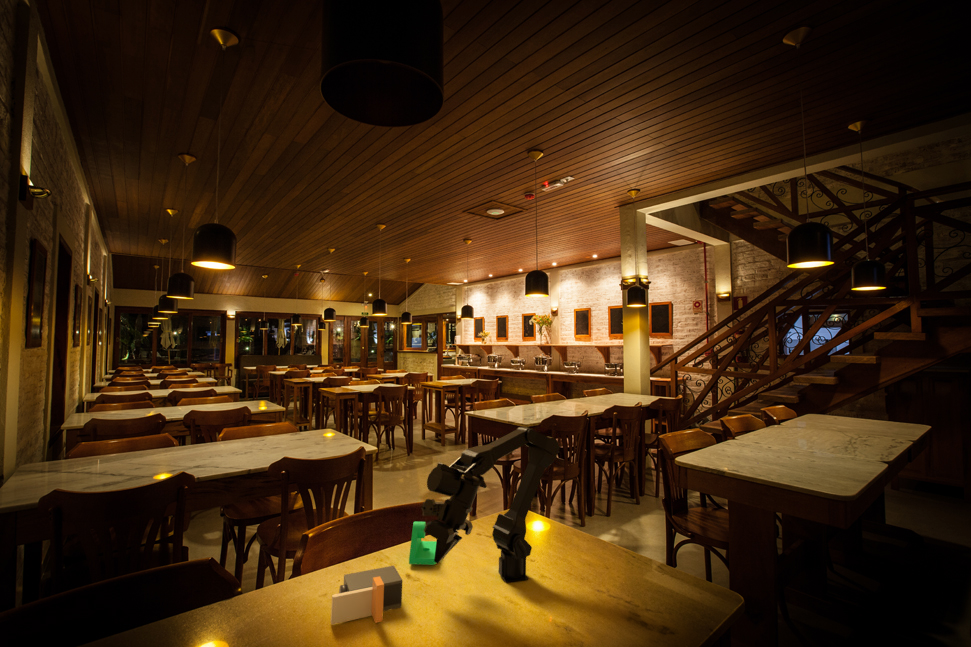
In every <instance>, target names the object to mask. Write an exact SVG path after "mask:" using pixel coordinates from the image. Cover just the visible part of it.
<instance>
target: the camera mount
mask: <svg viewBox="0 0 971 647" xmlns="http://www.w3.org/2000/svg"><path fill="white" fill-rule="evenodd" d="M412 524H413V525H412V531H411V540H410V548H409V555H408V556H409V557H408V564H409V565H431V566H432V565H434V566H435V565H436V564H437V563H436V562H434V558H435V550H436V542H437V540H434V541H433V540H431V541H430V540H422V539H425V538H426V534H427V533H426V532H424V529H425V526H426V524H427V522H426V521H413V523H412Z"/></svg>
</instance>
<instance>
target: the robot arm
mask: <svg viewBox="0 0 971 647" xmlns="http://www.w3.org/2000/svg"><path fill="white" fill-rule="evenodd" d="M523 446H526V447H527V448H528V450H527V455H528V456H527V457H528V463H527V466H526V468H525V470H524V473H523V475H522V478H521V480H520V482H519V485H518V488H517V490H516V492H515V495H514V497H513V500H512V502H511V505H510V506H509V509H508V511H506V512H505V513H504V514H503V513H498V515H497V517H496V521H495V523H494V524H493V526H492V528H493V529H492V535H491V536H492V537H493V538H492V539H493V541H494V543H495V545H496V548H497V550H500V556H499V557H498V570H497V571H498V573H499V575H500V577H502V580H503V581H504V582H505V583H514V582H521V581H528V580H529V576H528V575H527V557H529V556H531V553H532V549H533V547H532V546H531V544H530V543H529V542H528V541H527V540H526V539H525V538H526V534H527V524H526V521H527V520H526V518H527V515H528V513H529V510H530V508H531V506H532V503H533V501H534V498H535V495H536V492H537V490H538V488H539V485H540V482H541V480H542V478H543V475H544V473H545V470H546V469H547V468H549V466H551V465H552V464H553V463H554V461H555V460H556V458H557V457H558V454H559V452H560V449H561V448H560V447H561V446H560V444H559V442H558V439H557V438H556V437H551V436H547V435H545V434H542V433H540V432H538V431H536V430H535V429H534V428H531V427H526V426H519V427H517V428H516V429H515V430H513V431H511V432H509V433H508V434H506V435H504V436H502V437H500V438H497V439H495V440H493V441H492V442H489V443H488V444H484V445H475V446H473V447H469V448H466V449H464V450H463V451H462V452H461V454H460V456H459V457H457V459H455V461H453V462H452V463H451V464H450V465H449V466H448V465H447V464H444V463H443V462H438V463H437V465H436V466H435V467H434V468H433V469H432V470H431V471H430V473H429V474H428V476H427V479H426V487H427V489H428V491H430V492H433V493H436V494H437V493H438V494H440V495H444V496H446V497H449V498H446V499H445V500H444V502H443V501H435V499H430V498H426V499H425V501H423V502H422V505H421V506H420V509H421V510H422V516H424V517H428V516H432V517H436V519H433V520H430V521H428V522H426V526H425V529H424V532H426V533H425V534H427V535H429V536H431V537H433V538H434V539H436V541H437V542H436V550H435V558H434V562H436V564H439V563H440V562H441V561H442V560H443V559H444V558H445V557H446V556H447V555H448V554H449V552H451V551H452V549H453V548H454V547H456V546H457V544H458V543H459V542H460V541H461V540H462V539H463V537H462V536H460V535H459V531H460V530H462V531H464V532H465V533H464V534H465V535H467V536H468V535H470V534H472V531H473V527H474V526H473V524H472V521H471V520H468V515H469V513H471V512H472V511H473V508H474V507H472V506H473V503H474V501H475V498H476V495H477V493H478V490H479V488H483V489H486V488H487V484H486V482H485V478H484V475H485V474H487V472H489V471H490V470H491V469H492V468H494V466H495V465H496V463H497V461H498V460H500V459H502V458H503V457H505V456H507V455H509V454H510V453H512V452H515V451H516V450H518V449H520V448H522V447H523Z"/></svg>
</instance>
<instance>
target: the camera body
mask: <svg viewBox="0 0 971 647" xmlns="http://www.w3.org/2000/svg"><path fill="white" fill-rule="evenodd" d="M379 576H380V577H381V579H382V581H383V583H384V600H383V612H385V611H390V610H394V609H399V608H402V604H403V578H402V577H401V575H400V573H399V572H398V569H397V568H396V567H395V565H388V566H384V567H379V568H373V569H368V570H362V571H357V572H351V573H346V574H343V584H340V585H339V589H338V590H339V592H338V594H339V593H344V592H349V591H354V590H359V589H363V588H368V587H372V586H373V578H374V577H379Z"/></svg>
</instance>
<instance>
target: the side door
mask: <svg viewBox="0 0 971 647" xmlns="http://www.w3.org/2000/svg"><path fill="white" fill-rule="evenodd" d="M383 600H384V583H383V581H382V579H381V577H380V576H379V577H374V578H373V586H372V587H368V588H363V589H359V590H354V591H349V592H344V593H339V592H338V593H335V594H332V595H331V607H330V609H331V611H330V625H336V624H341V623H346V622H349V621H355V620H358V619H363V618H366V617H372V620H373V621H374V623H375V624H376V623H381V622H383V618H384V616H383V615H384V611H383Z"/></svg>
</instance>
